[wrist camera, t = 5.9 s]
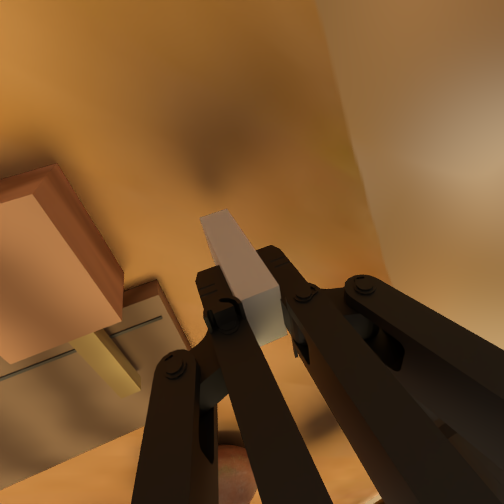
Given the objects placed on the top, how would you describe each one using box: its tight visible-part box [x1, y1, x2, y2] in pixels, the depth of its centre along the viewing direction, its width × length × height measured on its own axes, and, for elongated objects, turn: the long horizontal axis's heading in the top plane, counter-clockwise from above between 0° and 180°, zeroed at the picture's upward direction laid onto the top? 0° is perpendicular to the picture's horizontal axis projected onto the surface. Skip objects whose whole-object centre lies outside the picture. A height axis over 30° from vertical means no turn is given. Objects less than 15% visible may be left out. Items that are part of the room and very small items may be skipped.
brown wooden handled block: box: [0, 163, 141, 399], centre depth 18 cm, size 6×16×5 cm, turn 12°
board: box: [0, 280, 192, 490], centre depth 22 cm, size 30×14×2 cm, turn 101°
